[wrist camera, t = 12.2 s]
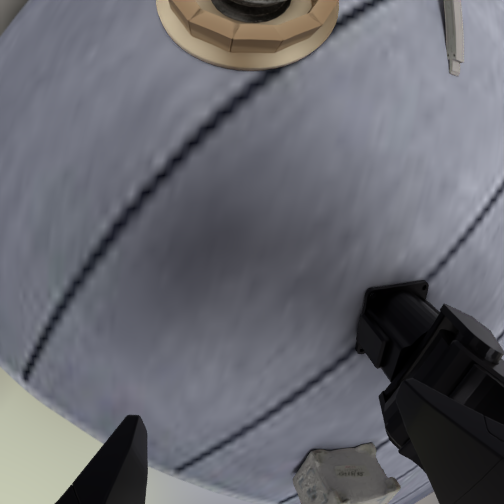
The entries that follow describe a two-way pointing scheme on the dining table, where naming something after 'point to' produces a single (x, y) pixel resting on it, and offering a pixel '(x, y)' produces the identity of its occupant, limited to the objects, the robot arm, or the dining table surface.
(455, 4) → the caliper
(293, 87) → the dining table surface
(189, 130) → the dining table surface
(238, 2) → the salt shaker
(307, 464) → the incense holder
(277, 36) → the dish
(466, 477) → the robot arm
